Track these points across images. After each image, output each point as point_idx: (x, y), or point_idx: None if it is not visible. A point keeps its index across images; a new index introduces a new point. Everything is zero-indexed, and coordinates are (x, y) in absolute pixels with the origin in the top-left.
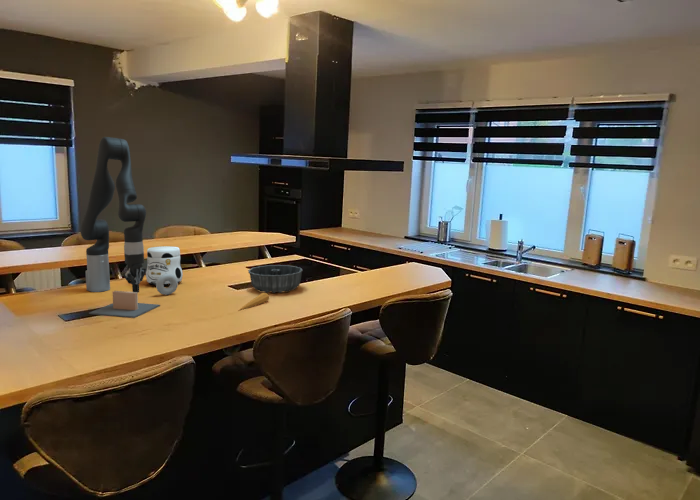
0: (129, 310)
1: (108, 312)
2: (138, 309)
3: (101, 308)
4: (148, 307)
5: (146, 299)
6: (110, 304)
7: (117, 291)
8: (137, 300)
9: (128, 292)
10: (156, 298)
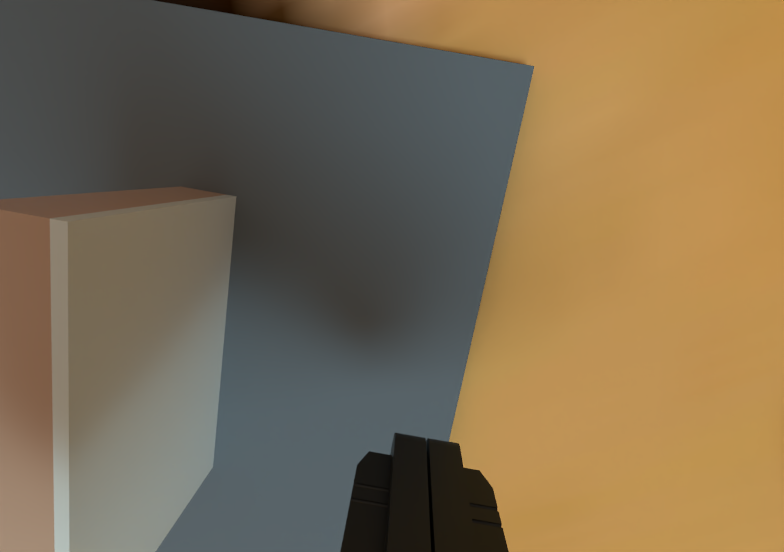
0: None
1: None
2: None
3: (142, 27)
4: (287, 541)
5: (703, 375)
6: (356, 48)
7: (19, 306)
8: (151, 548)
9: (13, 548)
10: (747, 469)
